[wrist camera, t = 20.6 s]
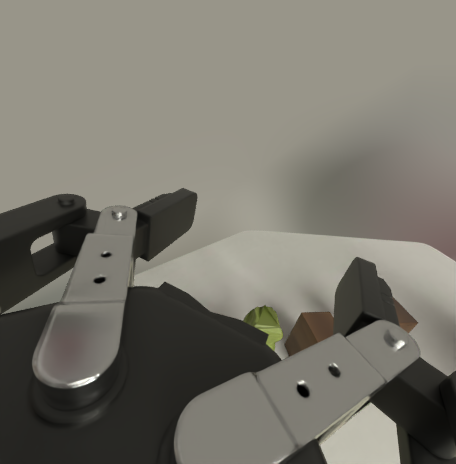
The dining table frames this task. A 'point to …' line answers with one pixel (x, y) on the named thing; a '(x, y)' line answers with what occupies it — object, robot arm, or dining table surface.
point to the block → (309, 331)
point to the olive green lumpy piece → (265, 323)
